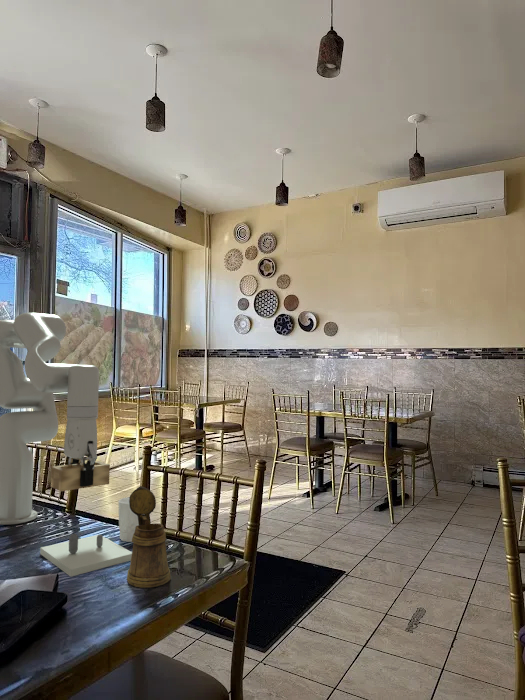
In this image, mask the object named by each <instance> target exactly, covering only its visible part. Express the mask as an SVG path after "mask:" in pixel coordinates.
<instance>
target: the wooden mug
mask: <svg viewBox="0 0 525 700" xmlns="http://www.w3.org/2000/svg"><path fill="white" fill-rule="evenodd" d="M129 497H130V498H129V504H130V509H131V511H132V512H133V513H134V514H136V515H137V516H138V524H139V525H138V526H136V528H135V533H134V534H133V537H132V542H131V543H132V550H131V552H132V556H131V561H130V563H129V568H128V569H127V575H126V581H127V583H128V584H129V585H130V586H132V587H135V588H142V589H144V588H145V589H147V588H148V589H150V588H155V587H161V586H163V585H165V584H167V583H169V582H170V580H171V579H172V578H171V570H170V568H169V563H168V562H169V561H168V554H167V546H166V544H167V543H166V539H167V536H166V531H165V527H164V525H163V524H162V523H152V522H151V521H152V520H151V513H153V512H154V511H155V509H156V504H157V500H156V496H155V494H154V493H153V492H152V491H151V490H150V489H148V488H146V487H144V486H143V485H140V486H138V487H137V488H135V489H134V490H133V491H132V492H131V494H130V495H129ZM144 514H145V515H144Z"/></svg>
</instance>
